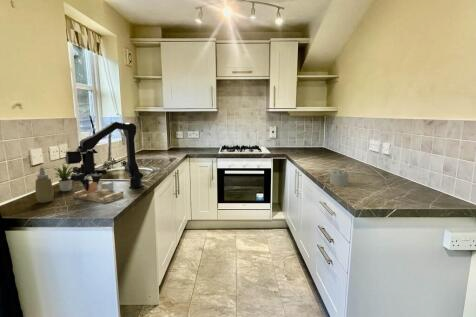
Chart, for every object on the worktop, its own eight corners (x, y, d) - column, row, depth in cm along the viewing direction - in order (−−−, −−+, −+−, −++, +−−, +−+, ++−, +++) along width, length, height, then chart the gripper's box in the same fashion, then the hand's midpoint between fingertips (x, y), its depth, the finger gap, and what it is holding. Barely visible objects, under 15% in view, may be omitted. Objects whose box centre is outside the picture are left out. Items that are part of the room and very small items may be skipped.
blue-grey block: (107, 189, 167) (107, 181, 166) (113, 190, 165) (112, 182, 164) (101, 191, 163) (100, 183, 162) (107, 192, 161) (106, 184, 160)
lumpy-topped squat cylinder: (344, 181, 186) (344, 168, 185) (350, 186, 173) (351, 173, 172) (328, 181, 187) (328, 168, 185) (333, 186, 174) (334, 172, 173)
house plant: (65, 194, 157) (62, 166, 154) (45, 193, 160) (42, 165, 157) (84, 188, 171) (81, 162, 168) (65, 186, 173) (62, 161, 171)
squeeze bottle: (39, 200, 147) (34, 166, 144) (56, 198, 150) (53, 165, 147) (34, 204, 140) (29, 169, 137) (52, 202, 143) (48, 168, 140)
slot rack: (93, 192, 162) (93, 187, 161) (123, 196, 153) (123, 191, 152) (74, 197, 151) (74, 192, 150) (105, 203, 142) (105, 197, 141)
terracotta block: (97, 190, 155) (96, 182, 154) (90, 192, 151) (89, 184, 150) (91, 189, 157) (90, 181, 156) (84, 192, 152) (83, 183, 152)
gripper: (92, 158, 163) (94, 184, 165) (61, 163, 146) (65, 192, 148) (106, 159, 158) (108, 186, 161) (76, 165, 141) (79, 194, 144)
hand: (91, 189), depth 154 cm, fingers closed on terracotta block, 4 cm apart
